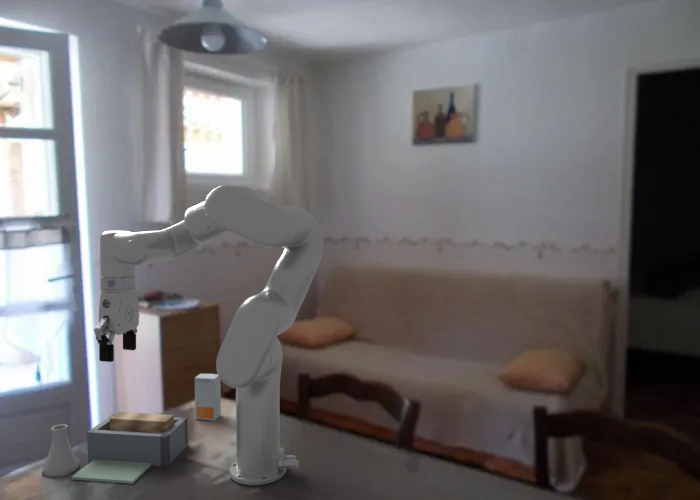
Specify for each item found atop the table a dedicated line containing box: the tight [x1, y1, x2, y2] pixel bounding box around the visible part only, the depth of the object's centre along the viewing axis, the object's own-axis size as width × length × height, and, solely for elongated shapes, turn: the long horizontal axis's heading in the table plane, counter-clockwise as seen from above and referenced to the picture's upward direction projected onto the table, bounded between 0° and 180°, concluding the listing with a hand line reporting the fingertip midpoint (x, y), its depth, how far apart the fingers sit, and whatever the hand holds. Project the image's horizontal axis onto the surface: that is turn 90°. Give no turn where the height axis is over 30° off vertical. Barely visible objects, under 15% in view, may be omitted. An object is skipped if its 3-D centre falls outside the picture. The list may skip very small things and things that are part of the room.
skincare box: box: [194, 373, 222, 422], centre depth 148 cm, size 6×4×12 cm
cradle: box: [86, 413, 189, 468], centre depth 127 cm, size 19×11×7 cm, turn 83°
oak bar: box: [110, 411, 175, 434], centre depth 126 cm, size 14×4×5 cm, turn 83°
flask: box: [41, 423, 81, 478], centre depth 118 cm, size 7×7×10 cm
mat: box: [71, 459, 152, 485], centre depth 118 cm, size 14×8×1 cm, turn 83°
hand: (118, 355), depth 125 cm, fingers open, 9 cm apart
